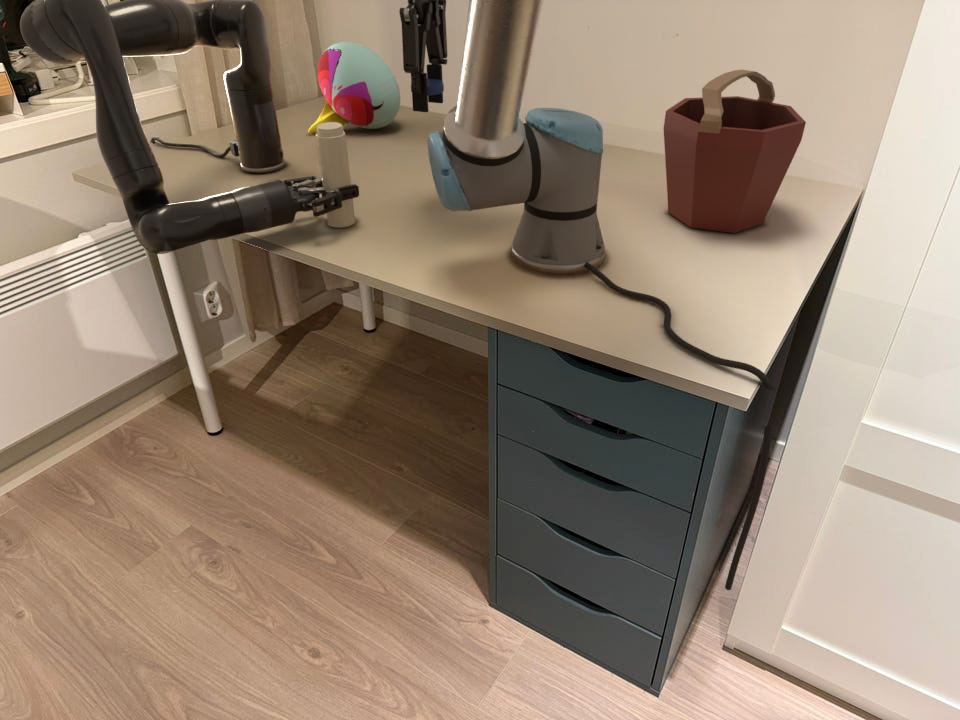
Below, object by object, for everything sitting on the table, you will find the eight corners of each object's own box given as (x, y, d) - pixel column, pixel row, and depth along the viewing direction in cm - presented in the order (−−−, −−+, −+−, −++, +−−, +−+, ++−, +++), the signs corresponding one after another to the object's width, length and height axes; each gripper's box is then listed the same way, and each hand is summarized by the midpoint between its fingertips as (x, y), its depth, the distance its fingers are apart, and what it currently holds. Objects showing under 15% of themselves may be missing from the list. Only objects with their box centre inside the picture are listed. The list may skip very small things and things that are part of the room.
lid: (426, 85, 130) (425, 77, 130) (450, 90, 128) (450, 81, 127) (404, 92, 127) (403, 83, 126) (429, 97, 124) (428, 87, 123)
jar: (360, 221, 130) (350, 125, 120) (338, 230, 127) (325, 131, 117) (344, 214, 133) (332, 119, 123) (322, 222, 130) (308, 125, 120)
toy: (277, 110, 181) (275, 51, 163) (352, 72, 191) (358, 13, 173) (336, 175, 178) (341, 122, 160) (410, 134, 188) (421, 79, 170)
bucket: (710, 250, 119) (740, 96, 105) (622, 208, 134) (638, 69, 120) (804, 218, 129) (843, 75, 115) (713, 183, 145) (736, 53, 131)
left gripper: (273, 198, 113) (367, 176, 121) (241, 174, 122) (330, 155, 131) (281, 241, 117) (371, 217, 125) (249, 214, 127) (335, 193, 135)
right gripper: (425, -45, 124) (431, 92, 137) (373, -34, 109) (385, 118, 123) (464, -43, 121) (467, 96, 135) (417, -33, 107) (424, 122, 120)
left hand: (350, 185), depth 128 cm, fingers closed on jar, 5 cm apart
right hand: (428, 106), depth 129 cm, fingers closed on lid, 6 cm apart
